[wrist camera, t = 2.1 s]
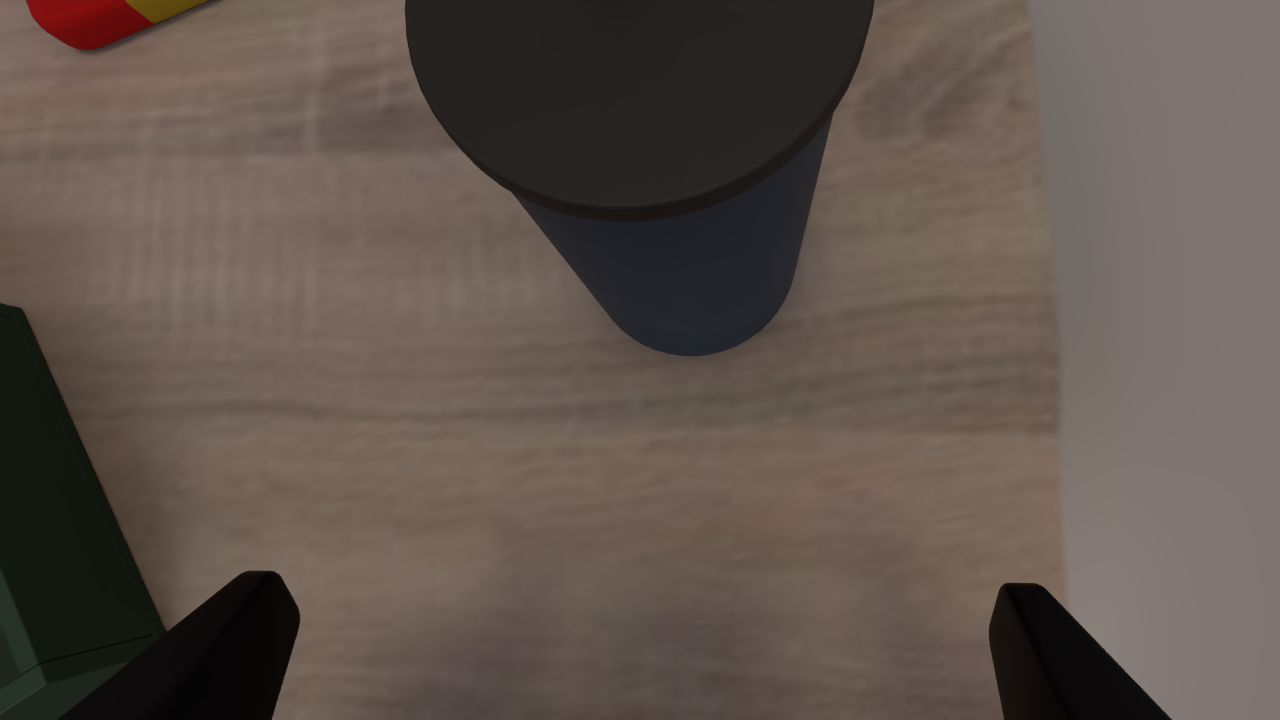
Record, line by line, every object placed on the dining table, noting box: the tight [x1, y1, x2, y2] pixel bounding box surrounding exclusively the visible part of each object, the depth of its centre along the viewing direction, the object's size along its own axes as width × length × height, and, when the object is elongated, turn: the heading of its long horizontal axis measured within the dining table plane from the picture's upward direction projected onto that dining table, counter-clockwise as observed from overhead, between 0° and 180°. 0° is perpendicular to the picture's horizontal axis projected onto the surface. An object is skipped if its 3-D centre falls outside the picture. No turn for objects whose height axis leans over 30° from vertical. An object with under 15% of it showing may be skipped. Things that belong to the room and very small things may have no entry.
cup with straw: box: [405, 0, 874, 356], centre depth 15 cm, size 7×7×18 cm
